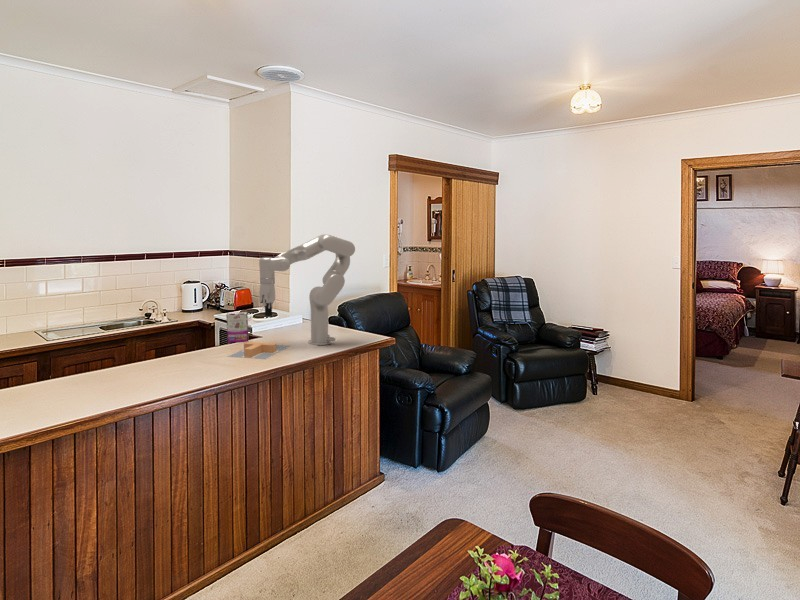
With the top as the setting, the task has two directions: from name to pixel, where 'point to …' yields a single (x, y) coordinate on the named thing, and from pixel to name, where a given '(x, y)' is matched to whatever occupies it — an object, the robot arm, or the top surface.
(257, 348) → the t block
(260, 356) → the mat
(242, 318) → the candy bar box
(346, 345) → the top surface
